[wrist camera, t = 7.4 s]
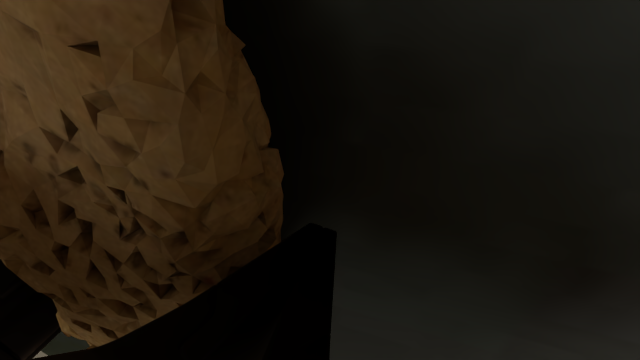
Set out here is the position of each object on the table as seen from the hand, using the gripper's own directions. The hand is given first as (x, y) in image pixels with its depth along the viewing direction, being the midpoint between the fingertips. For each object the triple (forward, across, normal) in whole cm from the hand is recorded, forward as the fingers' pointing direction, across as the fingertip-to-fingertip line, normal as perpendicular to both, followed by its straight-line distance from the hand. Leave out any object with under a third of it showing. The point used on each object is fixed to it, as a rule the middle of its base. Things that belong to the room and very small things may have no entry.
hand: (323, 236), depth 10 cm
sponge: (+3, +7, 0) cm, 8 cm away
